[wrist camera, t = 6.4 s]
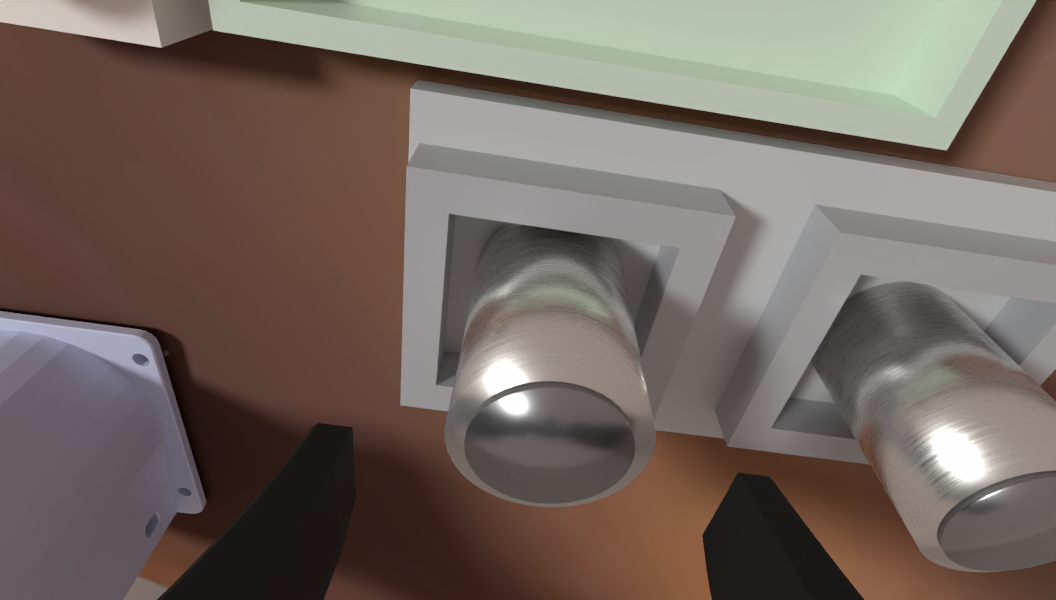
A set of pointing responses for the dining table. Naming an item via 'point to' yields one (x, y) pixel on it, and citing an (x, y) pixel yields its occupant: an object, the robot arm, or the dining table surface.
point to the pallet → (715, 251)
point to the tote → (689, 51)
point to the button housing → (114, 18)
